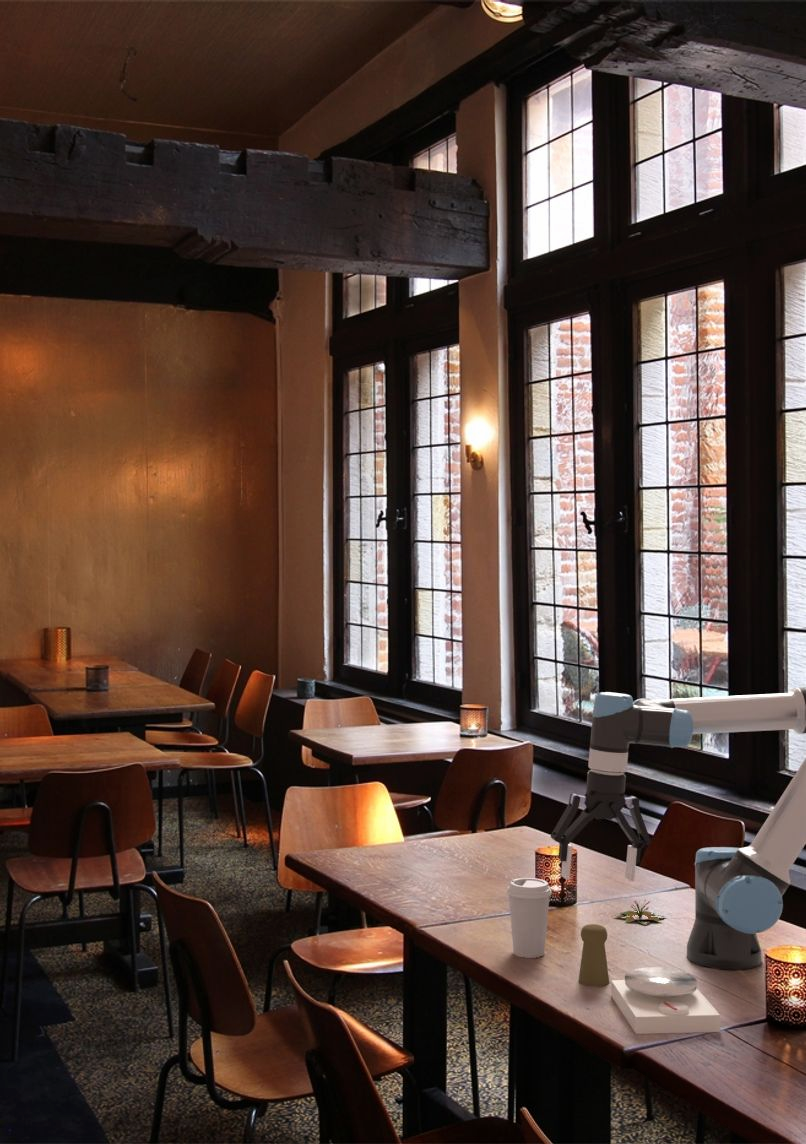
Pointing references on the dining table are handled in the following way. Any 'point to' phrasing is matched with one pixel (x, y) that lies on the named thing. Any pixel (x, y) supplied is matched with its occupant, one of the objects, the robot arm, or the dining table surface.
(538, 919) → the coffee cup
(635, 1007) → the scale base
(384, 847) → the dining table surface
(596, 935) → the cork
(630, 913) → the lily flower
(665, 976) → the pan
